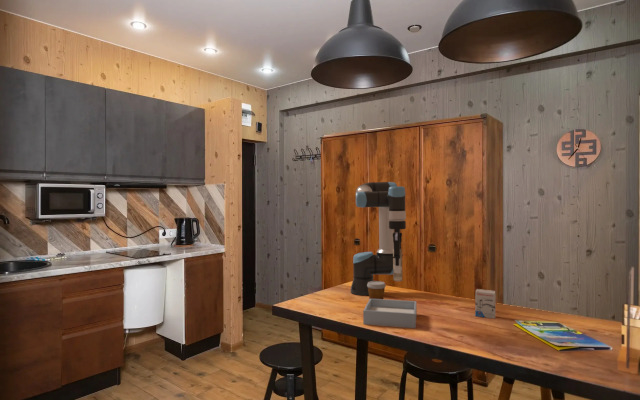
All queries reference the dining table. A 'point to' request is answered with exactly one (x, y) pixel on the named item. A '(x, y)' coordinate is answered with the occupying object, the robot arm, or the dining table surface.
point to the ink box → (485, 303)
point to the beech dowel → (399, 275)
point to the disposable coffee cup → (376, 289)
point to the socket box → (390, 313)
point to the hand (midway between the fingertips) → (397, 271)
